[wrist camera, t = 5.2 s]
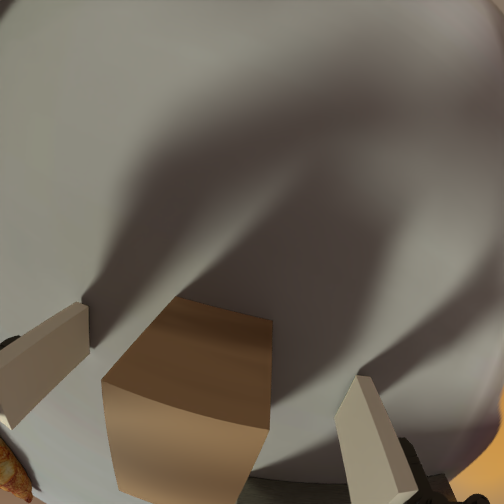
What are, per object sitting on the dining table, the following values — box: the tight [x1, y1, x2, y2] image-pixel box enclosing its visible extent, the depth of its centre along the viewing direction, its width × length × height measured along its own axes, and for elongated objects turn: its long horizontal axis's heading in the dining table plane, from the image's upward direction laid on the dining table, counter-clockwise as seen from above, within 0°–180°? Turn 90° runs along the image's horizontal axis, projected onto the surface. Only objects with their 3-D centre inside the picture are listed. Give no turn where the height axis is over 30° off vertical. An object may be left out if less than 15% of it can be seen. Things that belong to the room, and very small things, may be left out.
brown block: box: [101, 296, 273, 504], centre depth 9 cm, size 6×4×6 cm, turn 167°
